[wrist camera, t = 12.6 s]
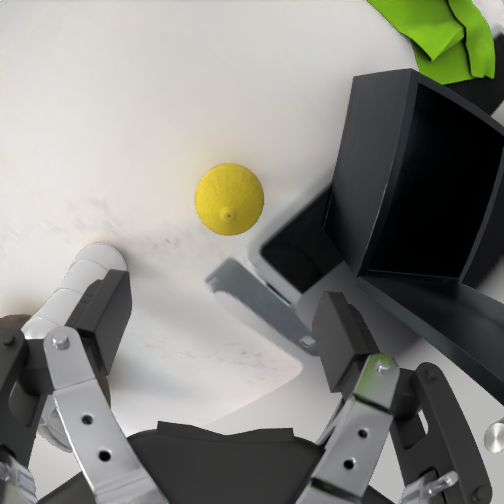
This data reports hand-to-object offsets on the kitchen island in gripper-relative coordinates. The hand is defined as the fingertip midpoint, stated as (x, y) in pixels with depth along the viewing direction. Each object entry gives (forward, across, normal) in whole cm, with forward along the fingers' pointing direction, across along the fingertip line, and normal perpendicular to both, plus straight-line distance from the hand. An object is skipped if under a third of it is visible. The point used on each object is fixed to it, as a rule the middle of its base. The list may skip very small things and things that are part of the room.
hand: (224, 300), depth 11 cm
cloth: (+17, -18, -26) cm, 36 cm away
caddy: (+17, -16, -5) cm, 24 cm away
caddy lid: (-1, -16, 0) cm, 16 cm away
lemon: (+17, 0, 0) cm, 17 cm away
